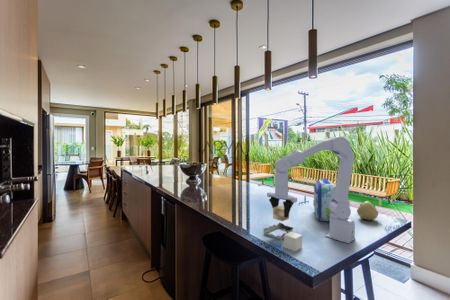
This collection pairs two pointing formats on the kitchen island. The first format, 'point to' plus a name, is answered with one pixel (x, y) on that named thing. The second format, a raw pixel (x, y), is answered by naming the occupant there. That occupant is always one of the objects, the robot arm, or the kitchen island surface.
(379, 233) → the kitchen island surface
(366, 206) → the tan lumpy ball
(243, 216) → the kitchen island surface
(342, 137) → the robot arm
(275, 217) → the oak cube
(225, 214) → the kitchen island surface
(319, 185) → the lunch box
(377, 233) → the kitchen island surface
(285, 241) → the cream cube
